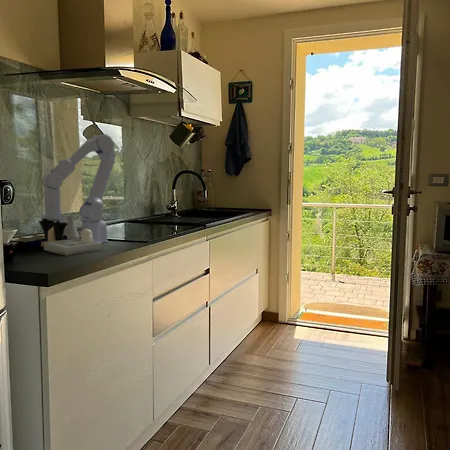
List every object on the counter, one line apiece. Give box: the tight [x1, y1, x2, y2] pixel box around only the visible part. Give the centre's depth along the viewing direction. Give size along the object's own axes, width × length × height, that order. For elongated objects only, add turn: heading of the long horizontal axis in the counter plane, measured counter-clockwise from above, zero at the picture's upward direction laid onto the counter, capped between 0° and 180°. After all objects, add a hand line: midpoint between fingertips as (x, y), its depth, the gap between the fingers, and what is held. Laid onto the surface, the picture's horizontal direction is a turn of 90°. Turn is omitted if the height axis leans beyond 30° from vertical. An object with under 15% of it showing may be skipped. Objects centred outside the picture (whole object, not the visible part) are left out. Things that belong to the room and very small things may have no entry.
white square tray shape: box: [43, 229, 104, 257], centre depth 168 cm, size 15×15×8 cm
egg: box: [47, 227, 56, 242], centre depth 176 cm, size 4×4×7 cm
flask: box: [63, 214, 81, 240], centre depth 195 cm, size 7×7×10 cm
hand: (53, 239), depth 176 cm, fingers open, 7 cm apart
